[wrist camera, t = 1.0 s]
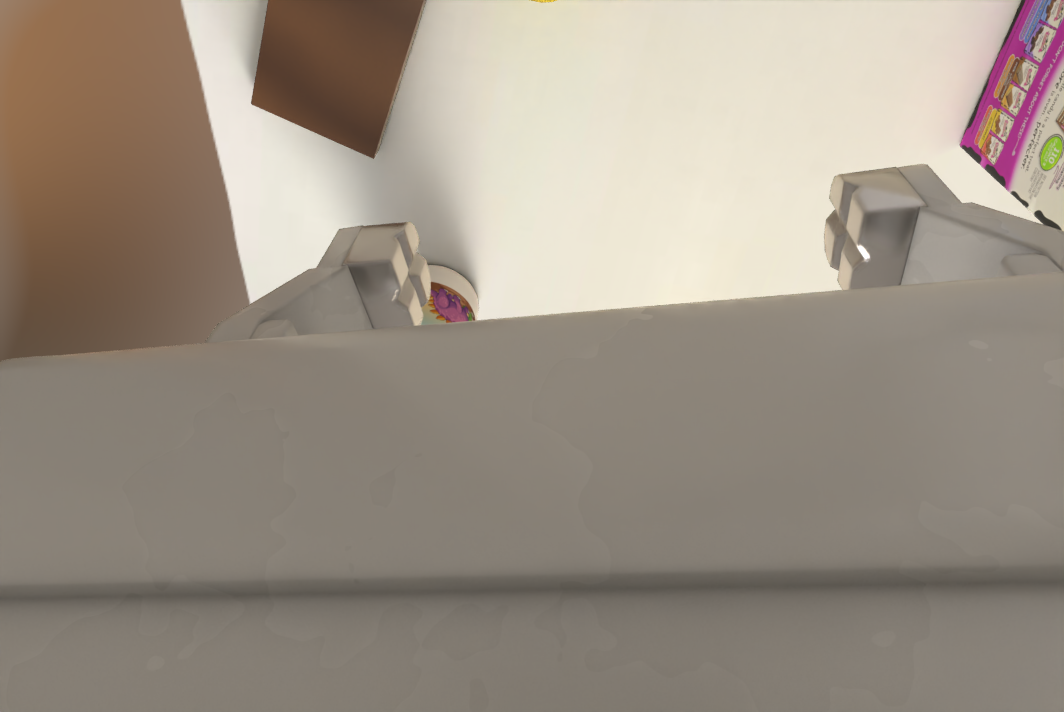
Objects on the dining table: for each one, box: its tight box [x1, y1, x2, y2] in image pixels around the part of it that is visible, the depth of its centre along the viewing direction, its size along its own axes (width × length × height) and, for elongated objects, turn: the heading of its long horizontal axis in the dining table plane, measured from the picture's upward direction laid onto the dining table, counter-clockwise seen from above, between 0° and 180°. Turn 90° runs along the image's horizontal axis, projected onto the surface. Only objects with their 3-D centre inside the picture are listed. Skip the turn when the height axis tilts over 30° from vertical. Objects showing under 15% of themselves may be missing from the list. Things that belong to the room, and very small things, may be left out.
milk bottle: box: [421, 265, 479, 325], centre depth 50 cm, size 8×8×20 cm
